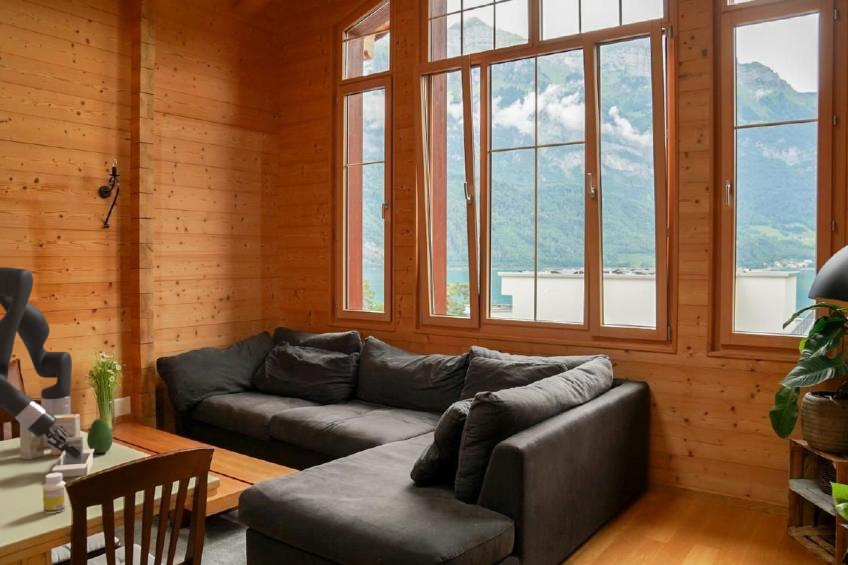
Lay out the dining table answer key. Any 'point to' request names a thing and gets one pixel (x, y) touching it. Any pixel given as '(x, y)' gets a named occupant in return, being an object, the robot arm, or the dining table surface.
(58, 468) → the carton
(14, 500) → the dining table surface
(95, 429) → the avocado
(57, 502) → the supplement bottle
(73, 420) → the supplement box
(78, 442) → the capped block
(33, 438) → the skincare box
